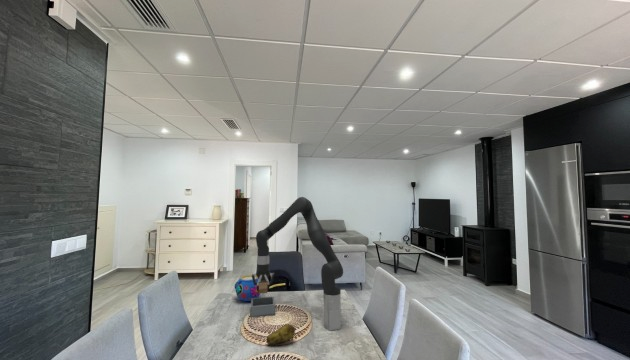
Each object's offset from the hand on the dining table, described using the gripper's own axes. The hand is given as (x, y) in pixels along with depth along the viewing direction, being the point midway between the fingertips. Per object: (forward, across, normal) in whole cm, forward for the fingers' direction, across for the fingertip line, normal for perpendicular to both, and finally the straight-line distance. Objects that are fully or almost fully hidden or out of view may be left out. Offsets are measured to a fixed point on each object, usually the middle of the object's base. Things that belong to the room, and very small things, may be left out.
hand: (263, 290), depth 162 cm
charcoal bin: (+12, 0, 0) cm, 12 cm away
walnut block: (+1, 0, 0) cm, 1 cm away
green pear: (+12, +8, -39) cm, 41 cm away
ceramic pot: (+12, -9, +22) cm, 27 cm away
